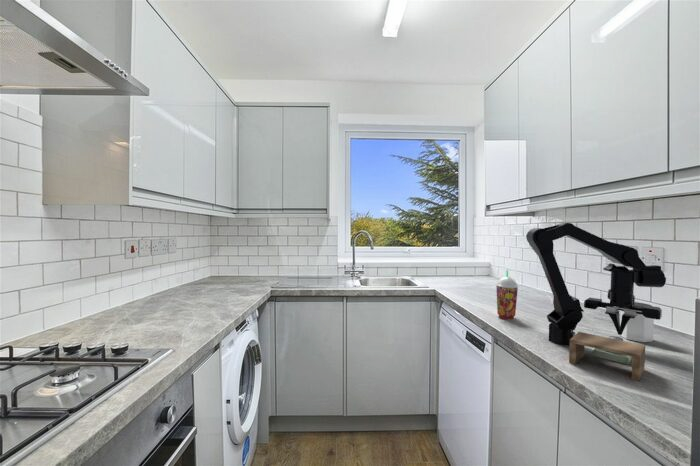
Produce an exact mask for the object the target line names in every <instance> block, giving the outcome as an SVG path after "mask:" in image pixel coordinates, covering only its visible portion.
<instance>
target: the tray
mask: <svg viewBox="0 0 700 466" xmlns="http://www.w3.org/2000/svg"><path fill="white" fill-rule="evenodd" d="M592 355H593V357H596V358H600V359H604V360H608V361H612V362H616V363H619V364H624V365H629V364H630V362H631V361H632V356H627V355H623V354H622V355H617V354H613V353H609V352H605V350H601V349H597V348H593V351H592Z"/></svg>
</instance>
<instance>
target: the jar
mask: <svg viewBox="0 0 700 466" xmlns="http://www.w3.org/2000/svg"><path fill="white" fill-rule="evenodd" d="M645 305H646V306H652V305H651V304H648V303H644V302H639V301H638V302H637V301H635V305H634V307H641V308H643V307H644V306H645ZM619 311H620V313H619V318H620V326H621V320H622V315H623V314H624V313H625V312H624V311H621V310H619ZM636 314H637V316H636V317H635V318H630V320H629V321H628V323H627V325H626V327H625V329H624V331H623V333H622V335H619V337H621V338H623V339H625V340H629V341H634V342H639V343H651V342H654V325H655V323H654V322H655V321H654V320H655V319H651V318H646V317H644V316H643V315H642V314H640V313H636Z"/></svg>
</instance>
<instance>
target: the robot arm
mask: <svg viewBox="0 0 700 466" xmlns="http://www.w3.org/2000/svg"><path fill="white" fill-rule="evenodd" d="M525 237H526V241H527V243H528V244H529V246H530V248H531V249H532V251H534V253H535V254H536V255H537V256H538V259H539V262H540V264H541V268H542V269H543V272H544V275H545V277H546V280H547V282H548V285H549V287H550V290H551V292H552V295H553V303H552V305H553V310H552V311H551V312H549V313H548V314H547V315H546V318H547V321H548V322H549V324H548V342H550V343H553V344H556V345H558V346H559V345H560V346H569V347H570V339H571V338H572V337H573V336H575V335H576V332H575V331H576V327H577V326H578V324H579V323H580V322H581V321H582V319H583V315H584V314H583V313H584V312H585V310H584V309H583V308H585V309H589V310H597V308H603V309H605V312H604V313H605V315H608V317H610V319H611V321H612V324H613V325H614V327H615V330H616V332H617V335H618V336H620V335H622V333H623V331H624V329H625V327H626V325H627V323H628V321H629V320H630V318H635V317H636V316H637V314H636V313H640V314H642V315H643V316H644V317H646V318H651V319H654V320H658V321H659V320H661V318H662V312H663V311H662V310H663V309H662V308H661V307H660V306H654V305H651V306H646V305H645V306H644V307H643V308H641V307H634V305H635V302H636V301H635V300H636V296H635V295H634V293H635V292H634V285H636V286H637V287H640V288H643V287H644V288H664V287H665V285H666V283H667V277H666V275H665V273H664V271H663V270H662V266H661V265H656V264H655V265H654V264H653V265H652V264H651V265H646V264H645V263H644V262H643V260H642V259H641V258H640V255H639V252H638V251H639V250H638V249H636V248H634V247H632V246H630V245H629V246H628V245H625V244H620V243H617V242H612V241H608V240H606V239H605V238H602V237H600V236H597V235H596V234H593V233H591V232H589V231H586V230H585V229H583V228H580V227H578V226H576V225H574V224H573V223H571V222H561V223H559V224H557V225H552V226H547V227H544V228H540V227H539V228H537V227H536V228H535V227H534V228H531V229H530V230H528V232H527V233H526V236H525ZM564 237H567V238H570V239H572V240H573V241H576V242H578V243H580V244H582V245H585V246H587V247H589V248H591V249H593V250H596V251H597V252H598V253H600V254H601V255H602V256H603V257H604V258H606V259H608V260H609V261H610V262H612V263H609V264H608V265H606V266H604V267H603V268H602V270H603V271H606V272H607V271H608V272H610V287H609V288H610V289H608V290H607V291H608V292H607V299H608V300H609V302H606V301H603V299H602V298H597V297H588V298H586V299H585V300H584V302H583V308H582V306H581V301H580V300H579V298H577V297H575V296H573V295H571V294H570V293H569V291H568V288H567V285H566V282H565V280H564V278H563V275H562V273H561V270H560V267H559V265H558V261H557V260H556V257H555V255H554V241H555V240H559V239H561V238H564ZM616 264H618V265H616ZM619 264H620V265H619ZM630 268H631V269H630ZM620 310H621V311H624V312H625V313H624V314H623V315H622V320H621V326H620Z"/></svg>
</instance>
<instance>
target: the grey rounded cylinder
mask: <svg viewBox="0 0 700 466" xmlns="http://www.w3.org/2000/svg"><path fill="white" fill-rule="evenodd" d="M608 338H612V339H616V340H621V341H624V338H623V337H621V336H614V335H609V336H608ZM620 355H622V354H620Z"/></svg>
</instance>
